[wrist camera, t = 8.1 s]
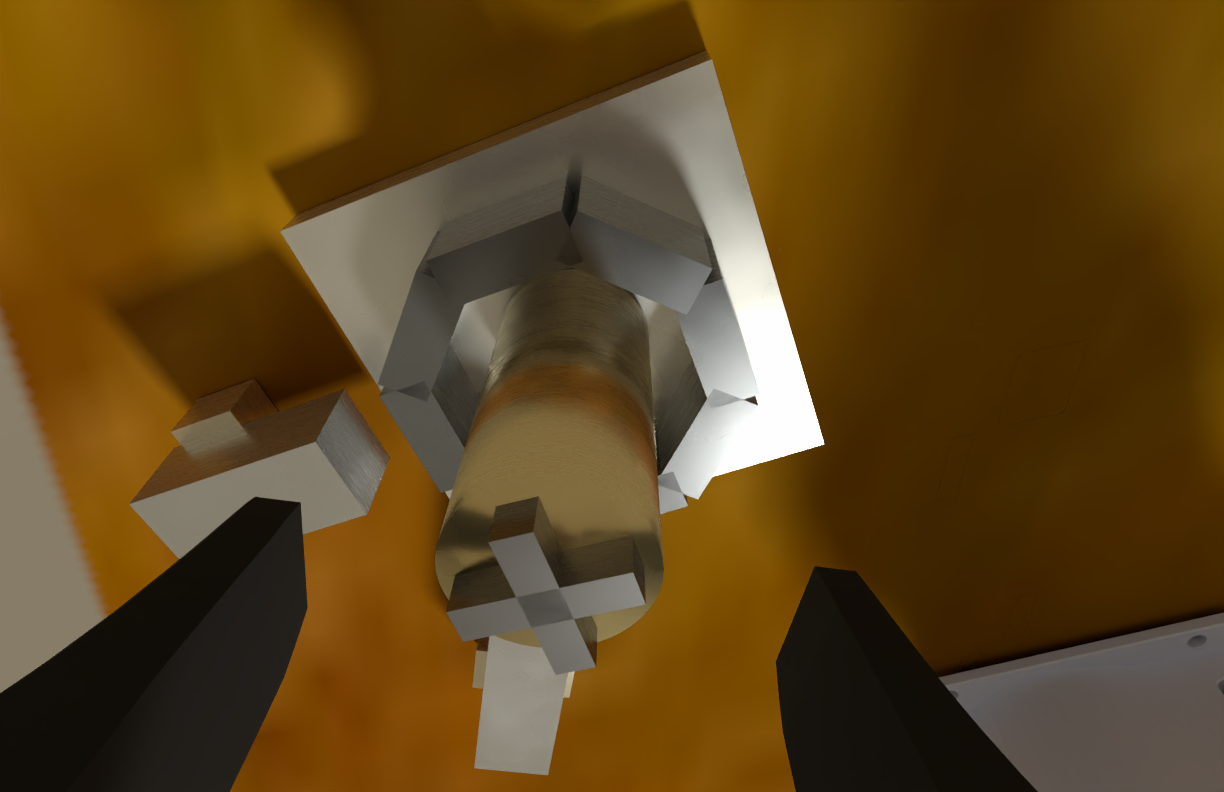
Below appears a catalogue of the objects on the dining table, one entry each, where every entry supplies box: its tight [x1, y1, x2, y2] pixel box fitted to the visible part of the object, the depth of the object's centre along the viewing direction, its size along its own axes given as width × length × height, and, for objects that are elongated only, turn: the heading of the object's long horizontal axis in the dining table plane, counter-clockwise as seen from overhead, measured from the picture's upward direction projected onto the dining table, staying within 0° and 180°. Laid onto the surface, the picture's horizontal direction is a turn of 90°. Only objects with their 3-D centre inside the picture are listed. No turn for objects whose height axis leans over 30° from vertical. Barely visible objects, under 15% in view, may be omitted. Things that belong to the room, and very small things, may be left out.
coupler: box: [435, 269, 664, 675], centre depth 14 cm, size 3×3×8 cm
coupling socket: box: [129, 50, 824, 775], centre depth 19 cm, size 14×15×3 cm
